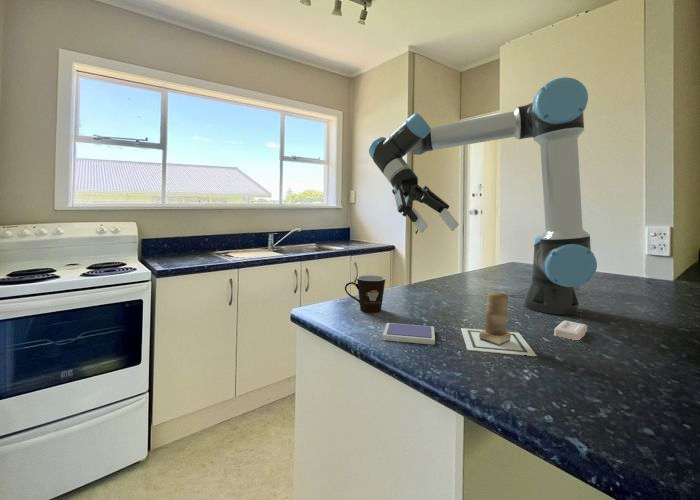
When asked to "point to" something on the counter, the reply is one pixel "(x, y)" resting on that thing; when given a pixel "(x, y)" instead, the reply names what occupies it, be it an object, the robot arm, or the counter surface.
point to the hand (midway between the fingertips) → (440, 228)
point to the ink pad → (409, 333)
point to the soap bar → (570, 330)
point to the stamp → (496, 320)
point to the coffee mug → (369, 292)
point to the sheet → (512, 347)
